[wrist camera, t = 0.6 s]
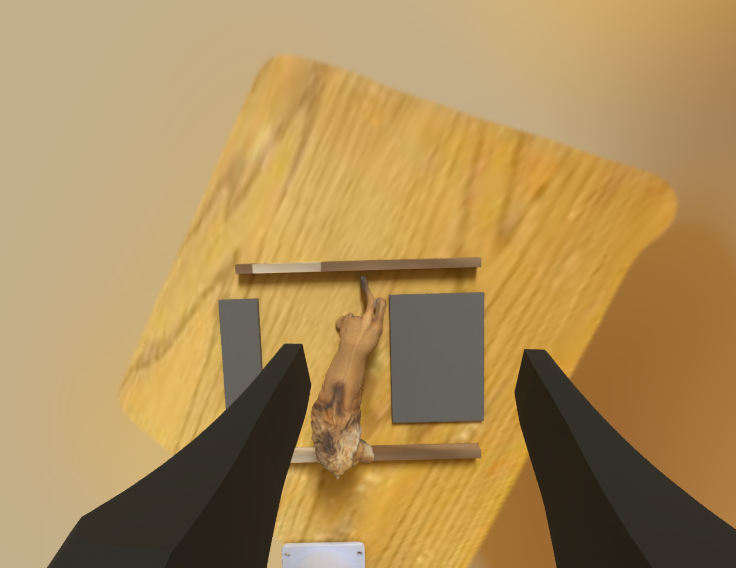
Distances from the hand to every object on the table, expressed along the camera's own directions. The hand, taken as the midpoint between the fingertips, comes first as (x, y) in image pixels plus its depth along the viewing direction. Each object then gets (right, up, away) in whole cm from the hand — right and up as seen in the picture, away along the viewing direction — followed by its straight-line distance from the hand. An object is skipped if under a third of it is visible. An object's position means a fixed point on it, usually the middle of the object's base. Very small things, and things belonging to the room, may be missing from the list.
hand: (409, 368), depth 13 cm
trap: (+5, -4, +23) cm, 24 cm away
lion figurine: (-3, -4, +23) cm, 24 cm away
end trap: (-13, -5, +23) cm, 27 cm away
